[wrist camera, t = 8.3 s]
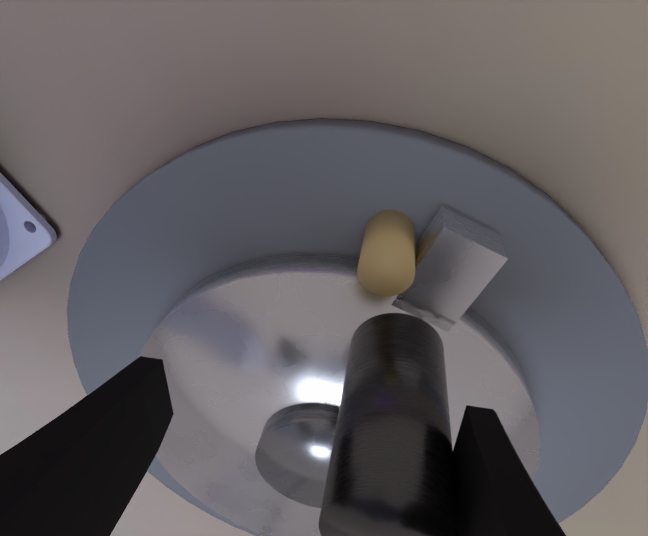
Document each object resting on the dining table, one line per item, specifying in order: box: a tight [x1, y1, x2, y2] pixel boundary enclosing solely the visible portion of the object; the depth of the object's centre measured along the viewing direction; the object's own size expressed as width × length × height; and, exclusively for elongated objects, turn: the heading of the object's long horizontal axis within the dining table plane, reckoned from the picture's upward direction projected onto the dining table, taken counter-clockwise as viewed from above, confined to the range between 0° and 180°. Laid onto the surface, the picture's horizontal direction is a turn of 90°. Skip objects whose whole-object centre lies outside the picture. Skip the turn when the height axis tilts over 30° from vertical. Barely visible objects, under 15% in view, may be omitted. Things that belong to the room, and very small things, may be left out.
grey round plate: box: [67, 118, 648, 536], centre depth 19 cm, size 24×24×4 cm
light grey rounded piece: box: [139, 206, 541, 536], centre depth 15 cm, size 18×16×8 cm
